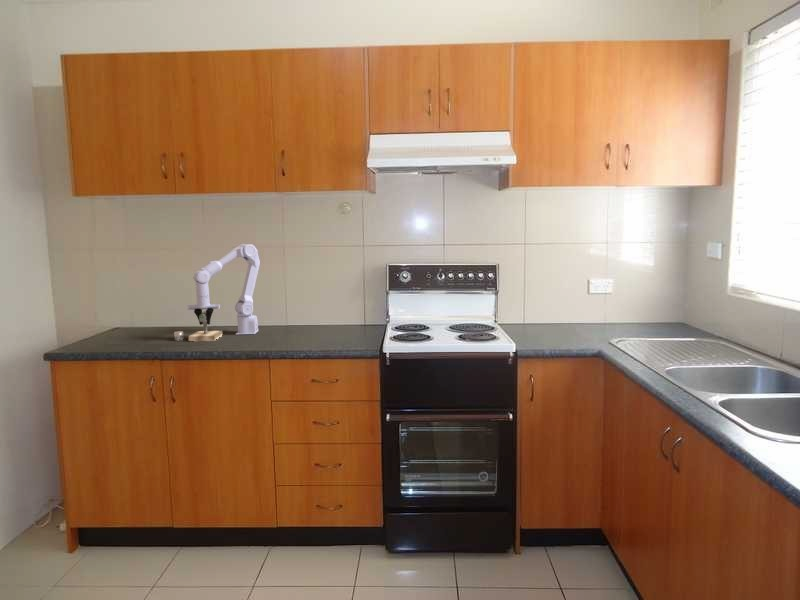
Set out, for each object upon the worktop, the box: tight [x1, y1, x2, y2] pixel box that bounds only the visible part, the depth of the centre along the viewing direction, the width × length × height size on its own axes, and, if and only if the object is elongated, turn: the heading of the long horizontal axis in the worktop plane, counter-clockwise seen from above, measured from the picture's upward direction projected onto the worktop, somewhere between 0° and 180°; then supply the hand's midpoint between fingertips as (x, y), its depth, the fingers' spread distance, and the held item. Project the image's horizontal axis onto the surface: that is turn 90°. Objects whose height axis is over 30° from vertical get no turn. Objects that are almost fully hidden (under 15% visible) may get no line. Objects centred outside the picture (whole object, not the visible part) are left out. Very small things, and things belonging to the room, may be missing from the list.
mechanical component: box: [198, 310, 208, 334], centre depth 260 cm, size 3×10×10 cm, turn 6°
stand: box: [188, 330, 223, 342], centre depth 261 cm, size 12×12×2 cm
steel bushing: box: [173, 330, 185, 342], centre depth 259 cm, size 4×4×4 cm
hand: (205, 324), depth 260 cm, fingers closed on mechanical component, 3 cm apart
